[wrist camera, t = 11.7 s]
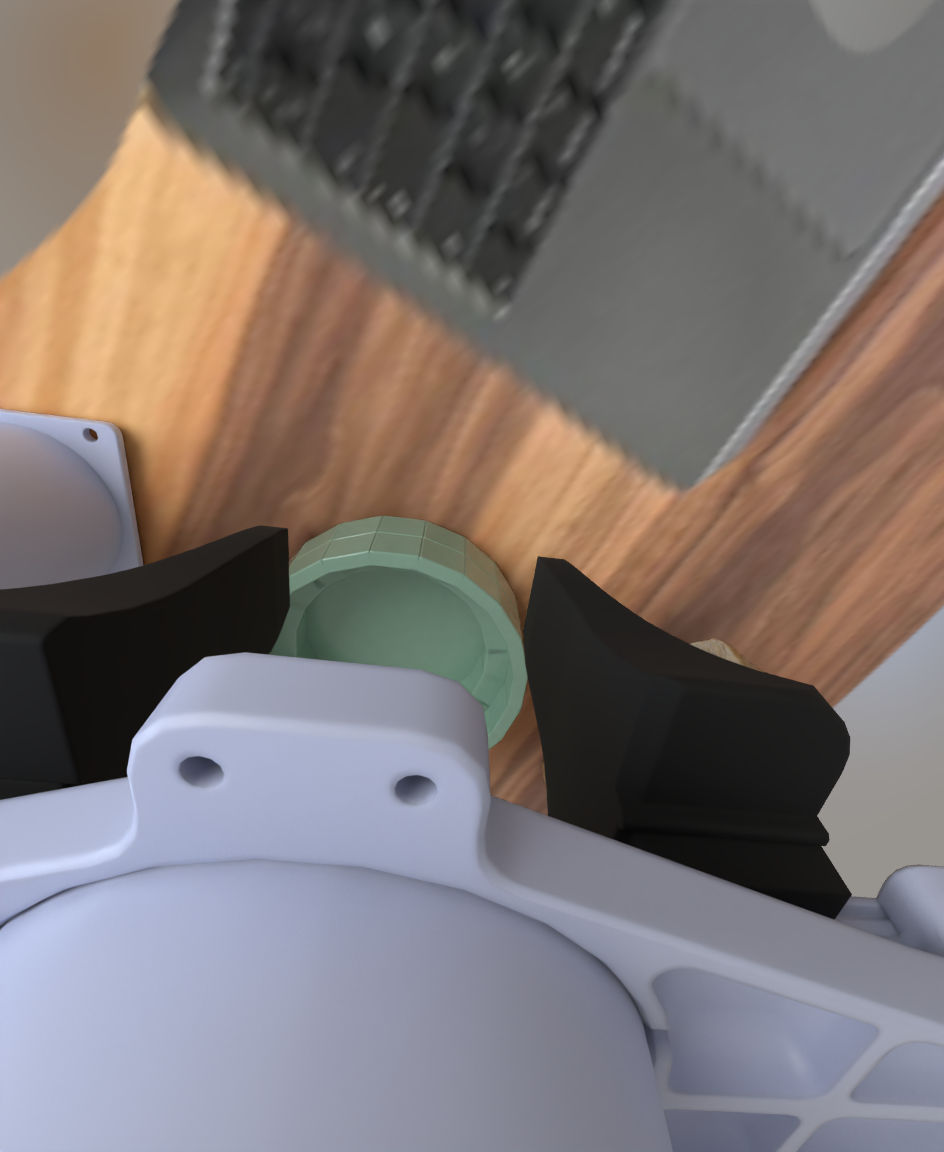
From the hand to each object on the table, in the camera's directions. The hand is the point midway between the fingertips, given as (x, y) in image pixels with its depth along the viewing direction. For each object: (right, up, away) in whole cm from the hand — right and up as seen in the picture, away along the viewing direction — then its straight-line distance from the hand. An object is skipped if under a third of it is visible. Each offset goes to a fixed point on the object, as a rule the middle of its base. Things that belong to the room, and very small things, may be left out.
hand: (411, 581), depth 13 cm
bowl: (-2, -2, +13) cm, 13 cm away
